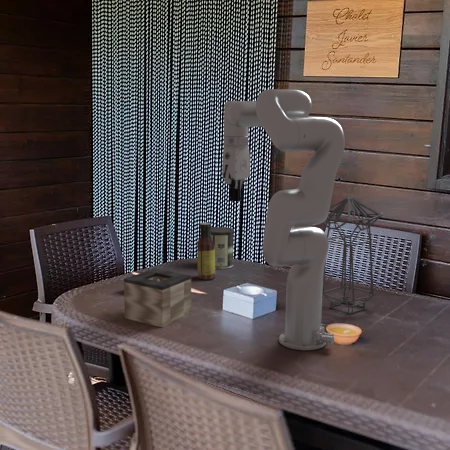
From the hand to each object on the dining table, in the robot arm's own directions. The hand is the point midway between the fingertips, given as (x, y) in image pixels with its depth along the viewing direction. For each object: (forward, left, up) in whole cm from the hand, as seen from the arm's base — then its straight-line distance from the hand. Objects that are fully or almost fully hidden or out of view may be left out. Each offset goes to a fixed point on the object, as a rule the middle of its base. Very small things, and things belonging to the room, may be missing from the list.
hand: (235, 200), depth 215 cm
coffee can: (+26, -32, -32) cm, 53 cm away
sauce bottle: (+21, -15, -32) cm, 41 cm away
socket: (+10, +27, -32) cm, 43 cm away
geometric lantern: (-33, -12, -32) cm, 48 cm away
